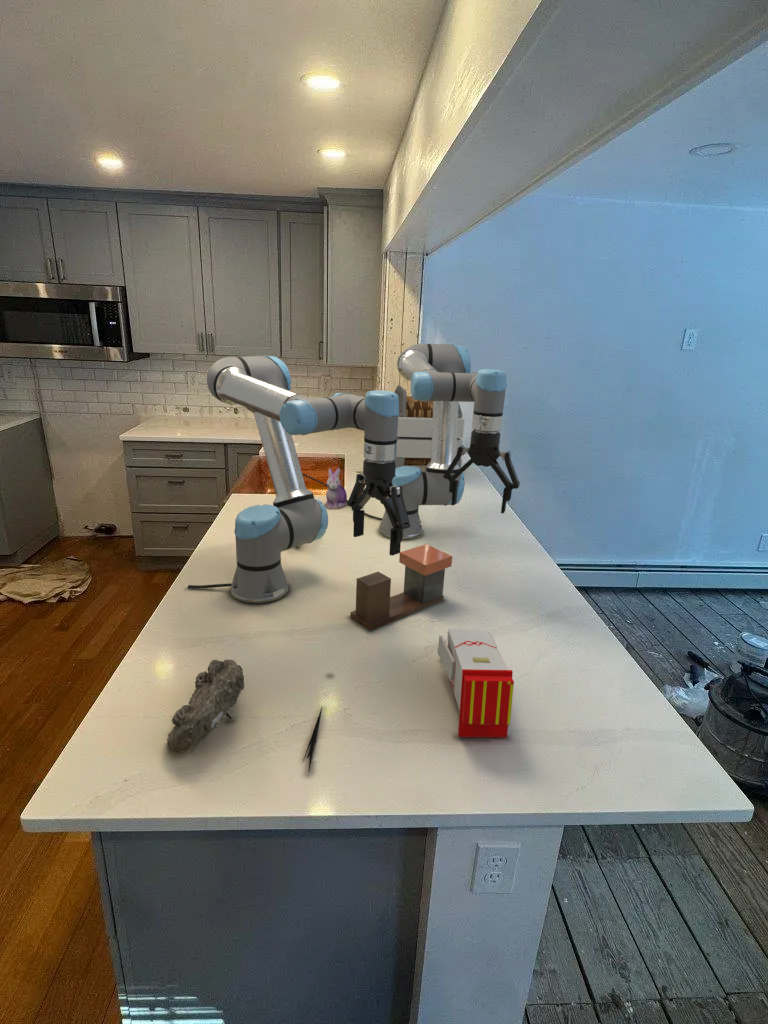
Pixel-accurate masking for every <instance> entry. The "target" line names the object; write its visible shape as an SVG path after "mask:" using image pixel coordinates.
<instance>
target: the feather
mask: <svg viewBox="0 0 768 1024" xmlns="http://www.w3.org/2000/svg"><path fill="white" fill-rule="evenodd" d="M329 675H330V676H331V675H332V674H331V673H330V674H329ZM322 710H323V707H321V708H320V710H319V713H318V716H317V719H316V723H315V725H314V728H313V731H312V733H311V737H310V739H309V742H308V745H307V748H306V751H305V754H304V757H303V760H302V763H301V767H302V765H303V763H304V761H305V758H308V759H309V760H308V762H307V763H308V764H307V766H308V771H310V770H311V766H312V765H311V764H312V760H313V757H315V756H314V755H315V751H316V749H315V746H317V739H318V733H319V729H320V722H321V717H322V712H323V711H322ZM313 754H314V755H313ZM306 755H307V757H306Z"/></svg>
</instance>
